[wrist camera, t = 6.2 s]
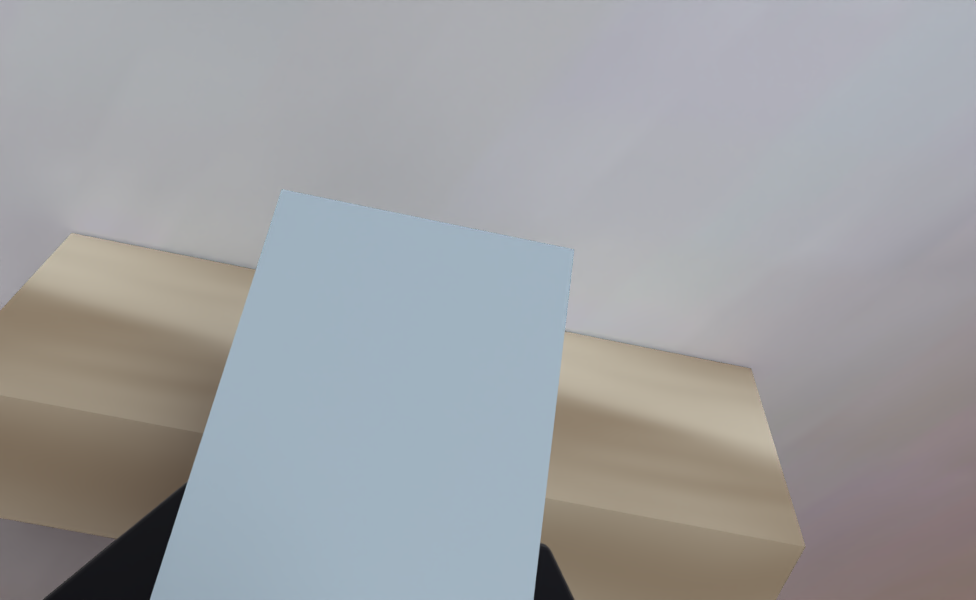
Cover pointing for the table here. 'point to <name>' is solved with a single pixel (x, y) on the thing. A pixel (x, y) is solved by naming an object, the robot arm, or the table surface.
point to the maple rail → (574, 451)
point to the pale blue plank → (378, 416)
